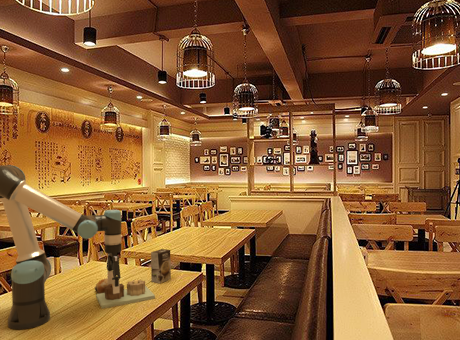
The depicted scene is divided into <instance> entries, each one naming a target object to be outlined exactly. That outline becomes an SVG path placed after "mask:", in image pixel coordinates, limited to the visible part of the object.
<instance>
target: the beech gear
mask: <svg viewBox="0 0 460 340" xmlns="http://www.w3.org/2000/svg"><path fill="white" fill-rule="evenodd" d="M134 280H135V279H133V280H131V281H127V283H126V289H127V295H130V296H134V295H137V296H139V295H141V294H144V293H145V286H146V281H145V280H142V279H137V280H138V284H134Z"/></svg>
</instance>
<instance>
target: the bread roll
mask: <svg viewBox="0 0 460 340" xmlns="http://www.w3.org/2000/svg"><path fill="white" fill-rule="evenodd" d="M105 286H108V277H107V278H103V279H100V280H99V281H98V282H97V283H96V284H95V286H94V290H95V293H96V294H101V293H105Z"/></svg>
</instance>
